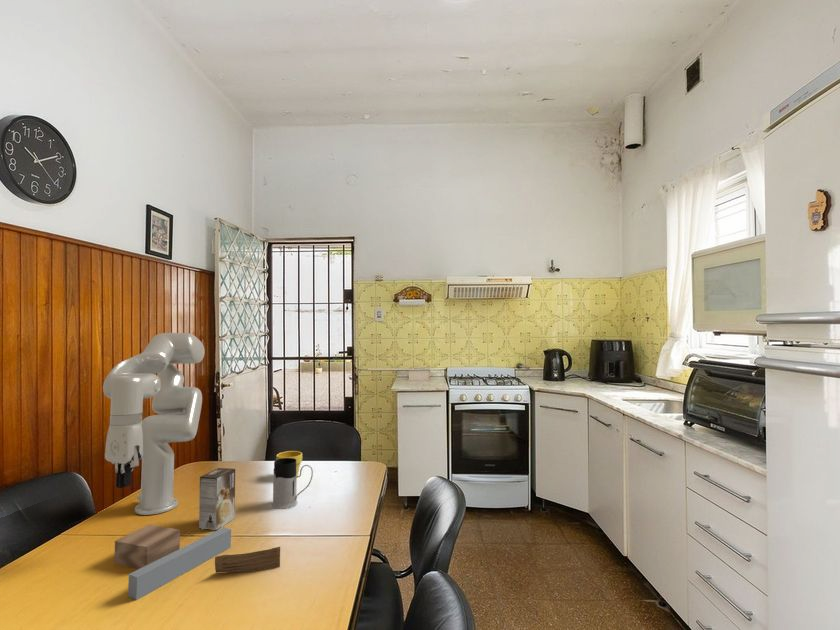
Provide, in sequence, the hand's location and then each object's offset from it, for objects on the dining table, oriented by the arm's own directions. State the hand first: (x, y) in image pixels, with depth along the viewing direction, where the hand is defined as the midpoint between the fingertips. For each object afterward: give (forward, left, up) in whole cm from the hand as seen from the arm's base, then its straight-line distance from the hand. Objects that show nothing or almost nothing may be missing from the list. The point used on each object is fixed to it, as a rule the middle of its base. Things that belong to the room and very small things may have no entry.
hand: (123, 486), depth 119 cm
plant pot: (+2, +65, -17) cm, 68 cm away
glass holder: (+22, +44, -17) cm, 52 cm away
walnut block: (+11, 0, -18) cm, 21 cm away
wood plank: (+40, +7, -18) cm, 44 cm away
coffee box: (+11, +22, -17) cm, 30 cm away
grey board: (+25, 0, -17) cm, 31 cm away
